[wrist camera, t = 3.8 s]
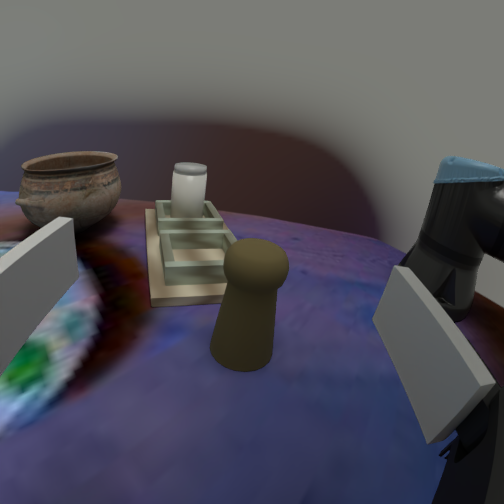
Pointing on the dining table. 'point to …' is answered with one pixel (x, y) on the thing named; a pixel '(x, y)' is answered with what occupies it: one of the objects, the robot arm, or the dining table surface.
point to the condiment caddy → (186, 256)
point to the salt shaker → (188, 190)
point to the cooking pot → (70, 188)
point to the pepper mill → (249, 304)
